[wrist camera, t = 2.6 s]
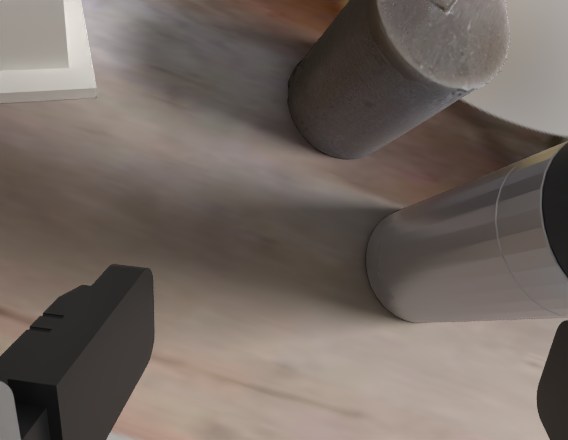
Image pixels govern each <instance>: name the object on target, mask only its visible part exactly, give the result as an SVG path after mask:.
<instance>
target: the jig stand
mask: <svg viewBox="0 0 568 440" xmlns="http://www.w3.org/2000/svg"><path fill="white" fill-rule="evenodd" d="M81 98H97V87H96V81H95V76H94V70H93V64H92V59H91V53H90V48H89V42H88V37H87V31H86V25H85V20H84V14H83V9H82V3H81V0H0V103H15V102H31V101H48V100H64V99H81Z"/></svg>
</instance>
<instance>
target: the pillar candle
mask: <svg viewBox="0 0 568 440" xmlns="http://www.w3.org/2000/svg"><path fill="white" fill-rule="evenodd" d="M506 10H507V7H506V2H505V1H504V0H349V2H348V3H347V4H346V6H345V7H344V8H343V9H342V10H341V11H340V13H339V14H338V15H337V17H336V18H335V19H334V21H333V22H332V23H331V24H330V26H329V27H328V28H327V29H326V31H325V32H324V33H323V35H322V36H321V37H320V38H319V39H318V41H317V42H316V43H315V44H314V46H313V47H312V49H311V50H310V52H309V53H308V54H307V56H306V57H305V58H304V59H302V60H301V61H300V62H299V63H298V64H297V66H296V67H295V69H294V70H293V72H292V74H291V76H290V79H289V81H288V105H289V109H290V113H291V116H292V118H293V121H294V123H295V125H296V126H297V128H298V129H299V131H300V132H301V133H302V135H303V137H304V138H305V139H306V140H307V141H308V142H309V143H310V144H311V145H312V146H314V147H315V148H317V149H318V150H320V151H321V152H324V153H325V154H327V155H330V156H333V157H336V158H341V159H358V158H362V157H365V156H367V155H369V154H371V153H373V152H375V151H377V150H378V149H380V148H381V147H383V146H385V145H386V144H388V143H390V142H391V141H393V140H394V139H396V138H398V137H399V136H401V135H403V134H405V133H406V132H408V131H409V130H411V129H413V128H414V127H416V126H417V125H419V124H421V123H422V122H424V121H425V120H427V119H429V118H430V117H432V116H433V115H435V114H436V113H438V112H440V111H441V110H443V109H445V108H446V107H448V106H449V105H451V104H452V103H454V102H455V101H457V100H459V99H460V98H462V97H464V96H465V95H467V94H469V93H470V92H472V91H473V90H475V89H479V88H482V87H483V86H484V85H485V84H488V83H489V81H490V80H491V79H492V78H493V77H495V76H496V74H498V73H499V72H501V70H500V67H502V65H504V63H505V61H506V56H507V53H508V46H509V44H510V42H509V39H510V38H509V35H510V33H509V23H508V18H507V13H506Z"/></svg>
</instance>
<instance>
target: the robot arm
mask: <svg viewBox="0 0 568 440" xmlns="http://www.w3.org/2000/svg"><path fill="white" fill-rule="evenodd" d="M366 267H367V274H368V278H369V281H370V284H371V287H372V289H373V291H374V292H375V294H376V296H377V298H378V299H379V300H380V302H381V303H382V304H383V305H384V306H385V308H386V309H388V310H389V311H390V312H391V313H393V314H394V315H395V316H397V317H399V318H401V319H403V320H405V321H410V322H414V323H431V322H468V321H493V320H518V319H544V318H568V141H567V142H564V143H562V144H559V145H557V146H555V147H552V148H550V149H547V150H545V151H542V152H540V153H537V154H535V155H533V156H530V157H528V158H526V159H524V160H521V161H519V162H516V163H514V164H511V165H509V166H506V167H504V168H502V169H499V170H497V171H494V172H492V173H489V174H487V175H484V176H482V177H480V178H477V179H475V180H472V181H470V182H467V183H465V184H462V185H460V186H458V187H455V188H453V189H450V190H448V191H445V192H443V193H440V194H438V195H436V196H433V197H431V198H428V199H426V200H423V201H420V202H418V203H416V204H413V205H411V206H408V207H406V208H404V209H401V210H399V211H397V212H394V213H392V214H390V215H388V216H387V217H385V218H384V219H383V220H382V221H381V222H380V223H379V224H378V225H377V227H376V228H375V229H374V231H373V233H372V235H371V237H370V239H369V243H368V247H367V251H366ZM153 344H154V295H153V275H152V272H151V270H150V269H149V268H142V267H133V266H125V265H117V264H112V265H110V266H109V267H108V268H107V269H106V270H105V272H104V273H103V274H102V275H101V276H100V277H99V278H98V279H97V280H96V281H95V283H94V284H93V285H92V286H87V285H81V286H79V287H77V288H75V289H73V290H71V291H70V292H68V293H66V294H64V295H62V296H60V297H58V298H57V299H56V300H55V302H54V303H53V304H52V305H51V306H50V307H49V308H48V309H47V310H46V311H45V312H44V313H43V316H40V317H39V318H38V319H37V320H36V321H35V322H34V323H33V324H32V325H31V326H30V329H29V330H26V331H25V332H24V333H23V334H22V335H21V336H20V337H19V338H18V339H17V340H16V341H15V342H14V343H13V344H12V345H11V346H10V347H9V348H8V349H7V350H6V351H5V352H4V353H3V354H2V355H1V356H0V440H106V439H107V437H108V435H109V433H110V432H111V430H112V428H113V426H114V424H115V422H116V421H117V419H118V417H119V415H120V413H121V412H122V410H123V408H124V406H125V404H126V403H127V401H128V399H129V397H130V395H131V393H132V392H133V390H134V388H135V386H136V384H137V383H138V381H139V379H140V377H141V375H142V374H143V372H144V370H145V368H146V366H147V364H148V362H149V360H150V357H151V353H152V349H153ZM537 408H538V413H539V417H540V419H541V422H542V424H543V426H544V428H545V430H546V432H547V434H548V436H549V438H550V440H568V320H566V321H563V322H562V323H561V324H560V325H559V327H558V329H557V331H556V334H555V337H554V340H553V343H552V346H551V349H550V352H549V355H548V358H547V361H546V364H545V367H544V370H543V373H542V376H541V379H540V382H539V385H538V390H537Z"/></svg>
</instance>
